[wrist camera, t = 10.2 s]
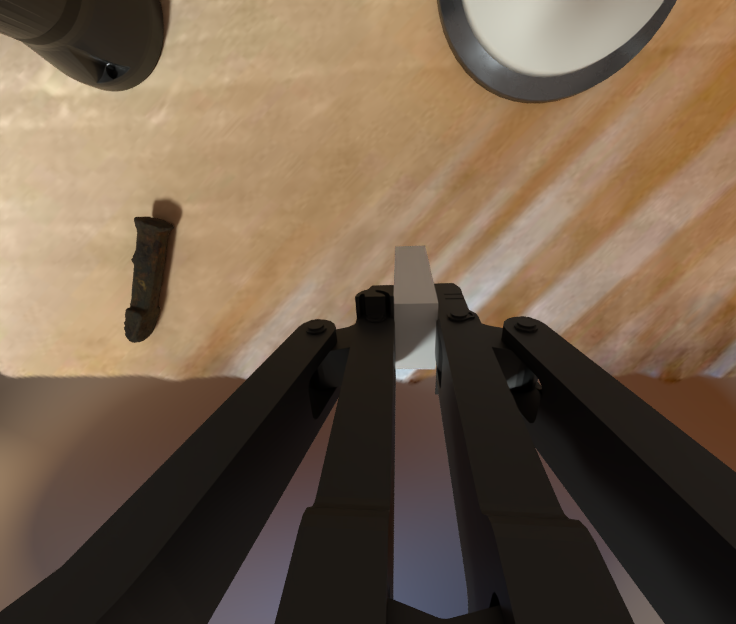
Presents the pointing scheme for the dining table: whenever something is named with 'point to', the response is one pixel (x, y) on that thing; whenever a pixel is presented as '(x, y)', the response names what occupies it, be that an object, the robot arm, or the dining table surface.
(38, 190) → the dining table surface
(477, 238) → the dining table surface
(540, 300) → the dining table surface
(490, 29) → the dial
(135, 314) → the hand tool
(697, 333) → the dining table surface
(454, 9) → the dial base
